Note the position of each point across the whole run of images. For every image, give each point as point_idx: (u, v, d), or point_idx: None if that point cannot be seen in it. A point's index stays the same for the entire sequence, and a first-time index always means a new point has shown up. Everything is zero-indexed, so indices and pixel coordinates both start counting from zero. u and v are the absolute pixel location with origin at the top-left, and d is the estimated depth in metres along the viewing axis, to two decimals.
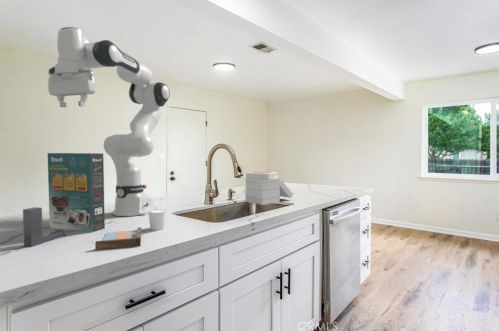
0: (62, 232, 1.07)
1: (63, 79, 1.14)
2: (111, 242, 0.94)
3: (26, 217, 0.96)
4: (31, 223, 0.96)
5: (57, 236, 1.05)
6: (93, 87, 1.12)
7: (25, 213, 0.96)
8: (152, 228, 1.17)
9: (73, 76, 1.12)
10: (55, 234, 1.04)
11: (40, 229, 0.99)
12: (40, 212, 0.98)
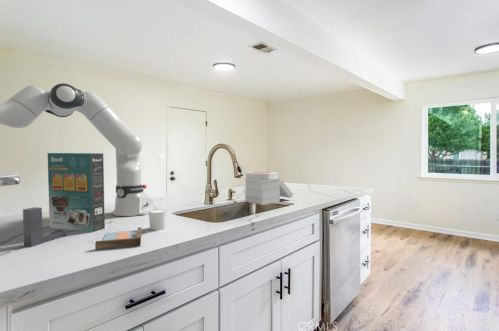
0: (62, 232, 1.07)
1: None
2: (111, 242, 0.94)
3: (26, 217, 0.96)
4: (31, 223, 0.96)
5: (57, 236, 1.05)
6: None
7: (25, 213, 0.96)
8: (152, 228, 1.17)
9: None
10: (55, 234, 1.04)
11: (40, 229, 0.99)
12: (40, 212, 0.98)
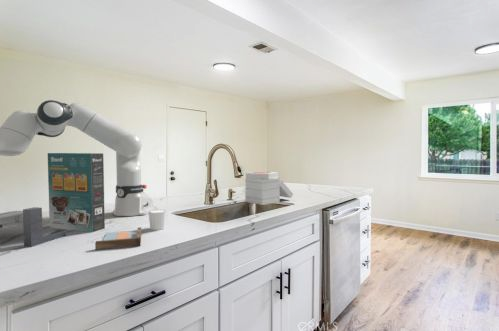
0: (62, 232, 1.07)
1: None
2: (111, 242, 0.94)
3: (26, 217, 0.96)
4: (31, 223, 0.96)
5: (57, 236, 1.05)
6: None
7: (25, 213, 0.96)
8: (152, 228, 1.17)
9: None
10: (55, 234, 1.04)
11: (40, 229, 0.99)
12: (40, 212, 0.98)
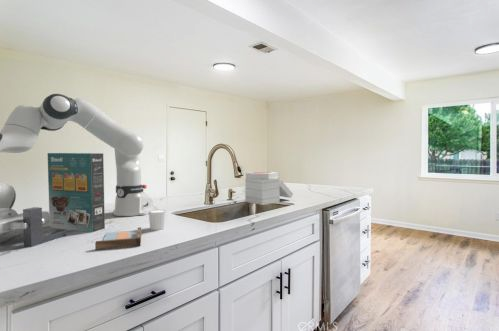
0: (62, 232, 1.07)
1: (4, 217, 0.98)
2: (111, 242, 0.94)
3: (26, 217, 0.96)
4: (31, 223, 0.96)
5: (57, 236, 1.05)
6: None
7: (25, 213, 0.96)
8: (152, 228, 1.17)
9: (17, 214, 1.03)
10: (55, 234, 1.04)
11: (40, 229, 0.99)
12: (40, 212, 0.98)
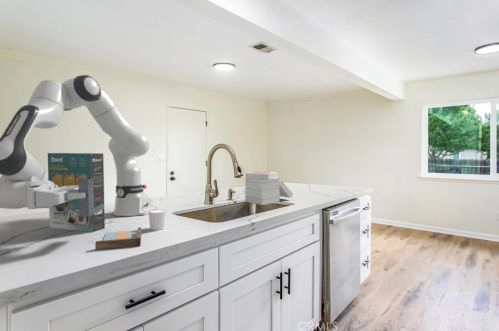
0: (102, 205, 1.08)
1: (52, 189, 0.94)
2: (111, 242, 0.94)
3: (83, 187, 0.95)
4: (89, 192, 0.96)
5: (100, 208, 1.06)
6: None
7: (81, 183, 0.95)
8: (152, 228, 1.17)
9: None
10: (99, 206, 1.05)
11: (93, 200, 0.99)
12: (92, 183, 0.99)
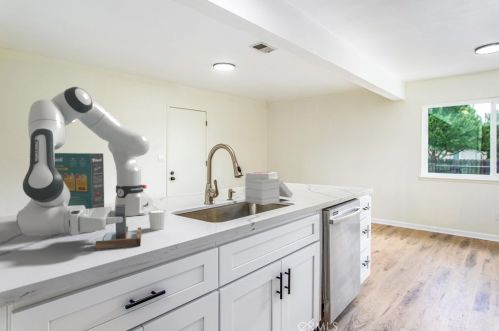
0: (127, 228, 1.11)
1: (89, 214, 0.96)
2: (111, 242, 0.94)
3: (119, 214, 0.99)
4: (125, 219, 1.00)
5: (127, 232, 1.09)
6: None
7: (118, 210, 0.99)
8: (152, 228, 1.17)
9: None
10: (127, 230, 1.08)
11: None
12: None
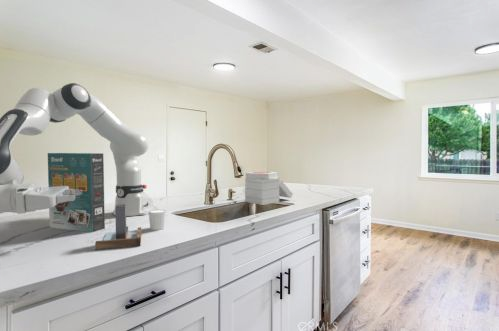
0: (127, 228, 1.11)
1: (39, 192, 0.91)
2: (111, 242, 0.94)
3: (119, 214, 0.99)
4: (125, 219, 1.00)
5: (127, 232, 1.09)
6: None
7: (118, 210, 0.99)
8: (152, 228, 1.17)
9: None
10: (127, 230, 1.08)
11: None
12: None
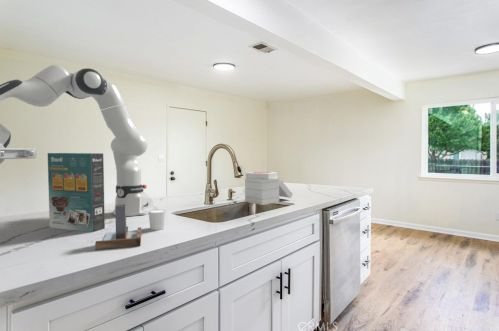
0: (127, 228, 1.11)
1: None
2: (111, 242, 0.94)
3: (119, 214, 0.99)
4: (125, 219, 1.00)
5: (127, 232, 1.09)
6: None
7: (118, 210, 0.99)
8: (152, 228, 1.17)
9: (4, 147, 1.02)
10: (127, 230, 1.08)
11: None
12: None
